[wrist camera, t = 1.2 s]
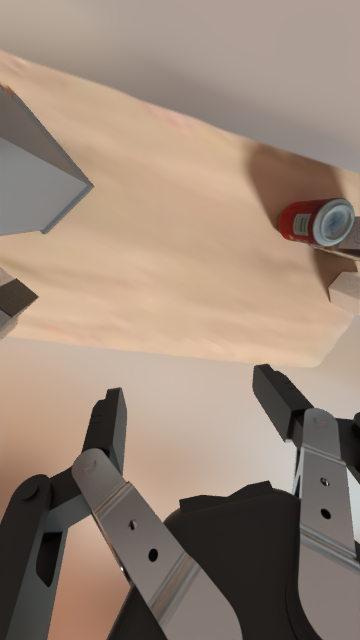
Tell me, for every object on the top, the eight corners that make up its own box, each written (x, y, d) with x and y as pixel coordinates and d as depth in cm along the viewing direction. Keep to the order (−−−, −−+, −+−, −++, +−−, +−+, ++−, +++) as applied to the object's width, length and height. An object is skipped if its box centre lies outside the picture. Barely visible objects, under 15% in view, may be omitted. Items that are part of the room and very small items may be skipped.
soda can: (276, 244, 47) (316, 253, 36) (272, 209, 44) (315, 206, 33) (308, 233, 47) (358, 238, 36) (306, 197, 44) (360, 190, 33)
